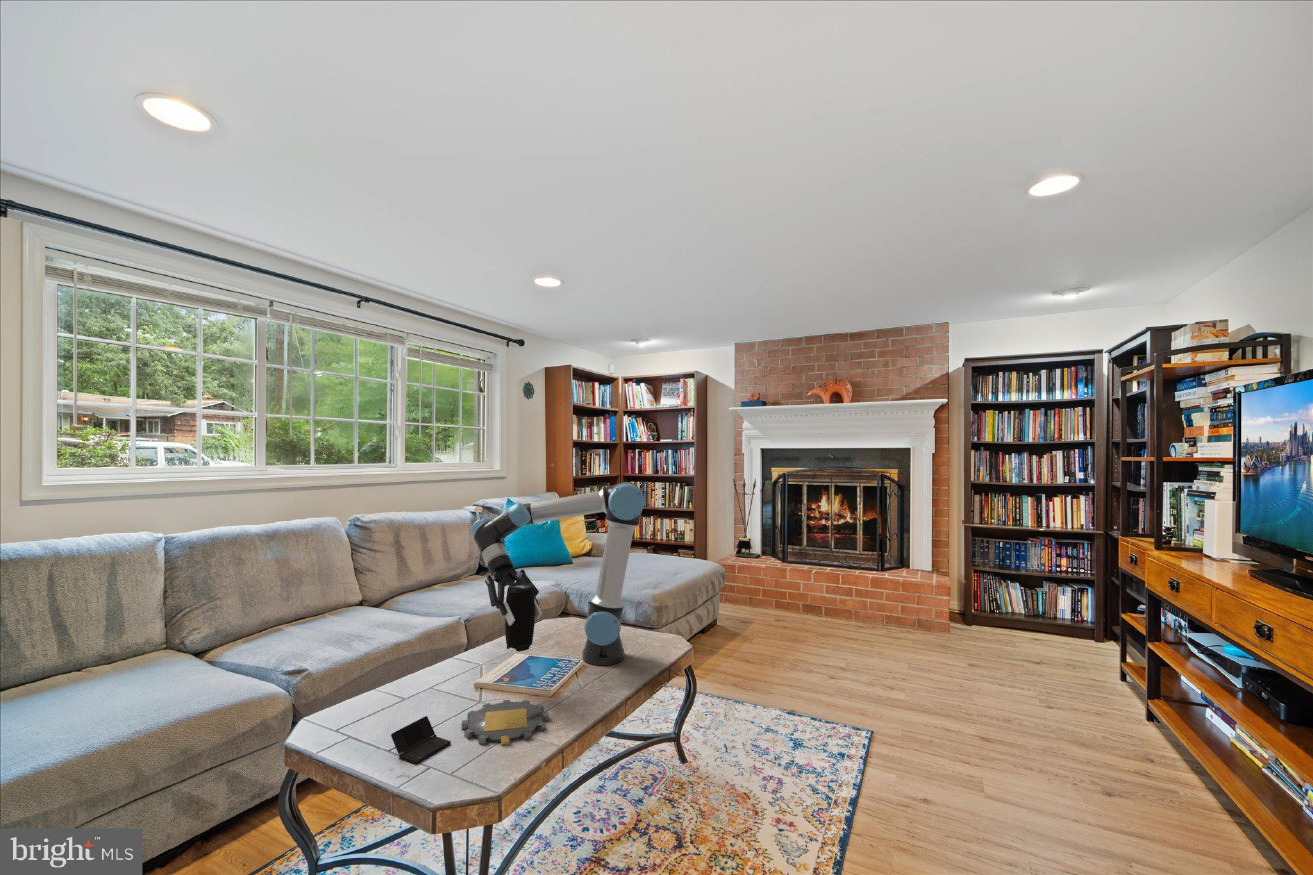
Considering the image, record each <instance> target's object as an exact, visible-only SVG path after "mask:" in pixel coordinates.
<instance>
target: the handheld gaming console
mask: <svg viewBox="0 0 1313 875" xmlns="http://www.w3.org/2000/svg"><path fill="white" fill-rule="evenodd" d="M390 737H391V740H392V743H393V744H394V747H395V749H396V751H397V754H398V759H399V760H402V761H405V762H408V763H410V764H413V765H419V764H420V763H422V762H423V761H425V760H427V759H428V758H431V757H432V756H434V755H435V754H438V753H439V752H441V751H442V750H444V749H446V748H447V747H449V746H451V743H452V742H451V740H448V739H445V738H441V737H439V736H437V734H436V732H435V730H434V728H433V726H432V724H431V722H430V720H429V716H427V715H425V716H423V717H421V718H419V719H418V720H415V721H414V722H412V723H410V724H408V725H405V726H403V727H401V728H400V729H398V730H396V731H394V732H392V733H391V734H390Z"/></svg>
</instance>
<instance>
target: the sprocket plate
mask: <svg viewBox="0 0 1313 875" xmlns="http://www.w3.org/2000/svg"><path fill="white" fill-rule="evenodd" d="M544 711H545V707H544V705H542V704H541V703H539V704H537V705H535V704H532V703H531V700H527V699H523V700H522V701H511V699H502V702H498V703H494V704H492V703H490V702H488V703H485V704H483V705H482V707H481V708H479V709H478V710H470V711H469V712H468V713H467V719H465V720H464V719H463V720H461V730H464V731H463V732H464V735H463V736H464V738H466V739H467V740H469V739H472V738H474V739H477V740H478V741H477V742H478V744H479V745H483V746H484V745H485V746H486V745H487V744H488V743H500V745H501V746H503V745H504V746H505V745H509V744H510V742H512V741H517V740H520V739H522V740H523V741H527V740H530V739H532V734H534V733H536V732H543V731H544V730H545V729H546V723H547V722H548V721H550V720H549V718H550V717H549V716H550V714H549V711H547V712H544Z"/></svg>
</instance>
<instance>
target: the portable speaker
mask: <svg viewBox="0 0 1313 875" xmlns="http://www.w3.org/2000/svg"><path fill="white" fill-rule="evenodd" d="M532 583H533V582H532ZM532 583H529V584H528V583H521V582H516V581H515V582H514V583H510V585H508V587H507V589H506V590H507V591H506V598H505V602H507V604H508V606H509V608H510V610H511V612H512V615H513V617H514V619H515V621H514V622H513V624H512V625H510V626H509V624H508V622H507V620H506V618H505V617H504V633H505V644H506V649H507V650H509V649H514V650H515V651H516V652H518V653H519V652H524V651H525V652H526V651H528V650H530V648H531V646H532V645H533V641H534V633H535V625H536V624H535V622H536V620H535V619H536V617H535V600H534V591H533V588H534V586H535V585H534V586H533V584H534V583H533V584H532Z"/></svg>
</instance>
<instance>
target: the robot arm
mask: <svg viewBox="0 0 1313 875" xmlns="http://www.w3.org/2000/svg"><path fill="white" fill-rule="evenodd" d="M644 508H645V497H644V493H643V492H642V490H641V489H640V487H639V486H638V485H637V484H635V483H633V482H630V481H622V482H619V483H616V484H614V485H611V486H610V485H609V486H605V487H602V488H601V489H600V490H597V491H593V492H586V493H581V494H580V493H579V494H575V495H569V496H564V497H558V498H552V499H546V500H540V501H534V502H530V503H523V504H522V503H521V502H518V503H515V504H514V505H511V506H510V507H508V509H506V510H505V511H503V512H502V513H500V514H499V515H498V516H496V517H495V518H493V519H491V518H488V517H484V518H481V519H478V520H476V521H475V522H474V523H473V524H472V525H471V529H470V530H471V534H472V537H473V541H475V543H476V546H477V548H478V549H479V552H480V553H481V556H482V557H483V561H484V563H485V565H486V566H487V569H488V572H489V574H488V576H486V578H485V579H484V582H485V584H486V586H487V591H488V597H489V603H490V606H491V607H493V608H496V609H497V610H500V614H501V615H502V616H504V619H505V618H506V620H507V622H508V624H509V626H510V625H512V624H513V622H514V621H515V619H514V617H513V615H512V612H511V610H510V608H509V606H508V604H507V602H506V601H505V587H507V586H509V585H510V583H514V582H521V583H528V584H529V583H532V584H533V586H534V588H533V591H534V600H535V619H539V618H540V617H541V616H542V614H543V613H542V610H541V608H540V607H539V605H540V603H539V600H538V599H537V596H538V594H540V591H539V589H538V588H537V586H536V585H535V584H534V583H533V582H532V580H531V579H530V578H529V577H528V575H527V574H526V571H525V569H523V568H522V569H521V570H518V571H517V570H516V568H514V564H513V561H512V559H511V558H510V555H509V553H508V551H507V549H506V547H505V546H504V543H503V540H504V539H506V538H507V537H509V536H511V534H513V533H515V532H516V531H518V530H519V529H520V528H523V527H525V526H528V525H533V524H538V523H545V522H549V521H556V520H561V519H568V518H574V517H580V516H585V515H586V516H587V515H592V514H597V513H605V514H606V515H605V521H606V523H607V525H608V529H607V533H606V538H605V544H604V549H603V554H602V555H603V556H602V559H601V560H602V561H601V565H600V570H599V574H598V575H599V576H598V581H597V585H596V591H595V593H592V594H590V595H589V596H588V600H587V614H586V619H585V622H584V633H585V636H586V641H585V643H584V648H583V650H582V660H583V661H584V662H585V663H587V664H590V665H594V666H610V665H611V666H612V665H616V664H619V663H620V662H623V661H624V660H625V649H624V647H623V643H622V642H623V641H622V639H621V634H620V633H621V629H622V626H621V623H622V619H623V618H622V616H623V612H624V606H625V604H624V602H623V601H622V599H621V598H622V594H623V593H622V592H623V587H624V583H625V577H626V571H627V568H628V561H629V556H630V551H631V545H632V541H633V535H634V531H635V529H636V528H638V527H639V526H640V522H641V517H642V516H641V515H642V512H643V509H644ZM495 582H496V584H497V589H496V585H495Z"/></svg>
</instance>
